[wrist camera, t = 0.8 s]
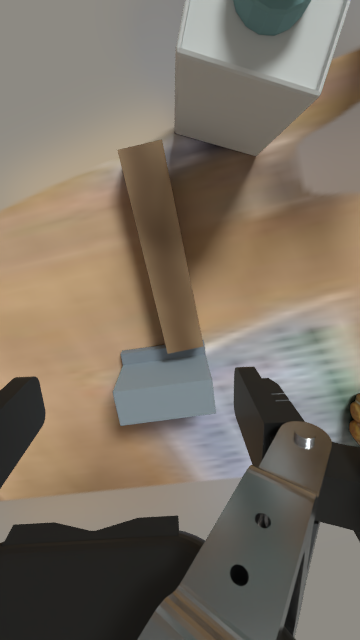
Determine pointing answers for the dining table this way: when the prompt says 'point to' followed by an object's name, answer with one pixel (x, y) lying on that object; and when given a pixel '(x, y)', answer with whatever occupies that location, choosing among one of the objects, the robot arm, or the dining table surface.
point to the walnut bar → (161, 243)
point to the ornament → (355, 419)
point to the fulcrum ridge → (163, 385)
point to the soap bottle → (251, 67)
